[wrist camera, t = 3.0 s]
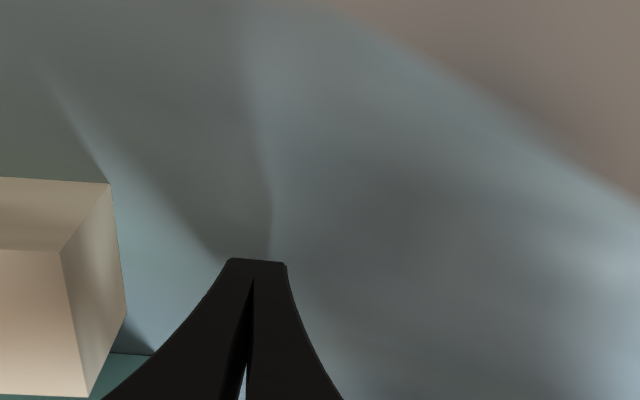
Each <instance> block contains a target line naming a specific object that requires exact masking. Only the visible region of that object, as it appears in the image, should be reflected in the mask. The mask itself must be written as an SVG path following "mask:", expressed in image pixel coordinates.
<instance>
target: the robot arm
mask: <svg viewBox="0 0 640 400" xmlns="http://www.w3.org/2000/svg"><path fill="white" fill-rule="evenodd" d="M246 364H247V371H246V400H343V398H342V397H341V395H340V393H339V392H338V390H337V389H336V387H335V386H334V384H333V382H332V381H331V379H330V377H329V376H328V374H327V372H326V371H325V369H324V367H323V365H322V363H321V362H320V360H319V358H318V356H317V354H316V352H315V350H314V348H313V346H312V344H311V341H310V339H309V337H308V335H307V333H306V330H305V328H304V326H303V323H302V321H301V318H300V315H299V313H298V310H297V308H296V305H295V302H294V299H293V295H292V292H291V288H290V284H289V280H288V274H287V266H286V265H285V264H284V263H283V262H275V261H264V260H254V259H243V258H233V257H232V258H230V259H229V260H227V261H226V263H225V265H224V267H223V269H222V271H221V272H220V274H219V276H218V277H217V279H216V280H215V282H214V283H213V285H212V286H211V287H210V289H209V290H208V292H207V293H206V294H205V296H204V297H203V298H202V300H201V301H200V302H199V304H198V305H197V306H196V307H195V309H194V310H193V311H192V312H191V314H190V315H189V316H188V317H187V318H186V320H185V321H184V322H183V323H182V324H181V325H180V326H179V327H178V329H177V330H176V331H175V332H174V333H173V334H172V335H171V336H170V338H169V339H168V340H167V341H166V342H165V343H164V344H163V345H162V346H161V347H160V348H159V349H158V350H157V351H156V352H155V353H154V354H153V355H152V356H151V357H150V358H149V359H147V360H146V361H145V362H144V363H143V364H142V365H141V366H140V367H139V368H138V369H137V370H135V371H134V372H133V373H132V374H131V375H130V376H128V377H127V378H126V379H125V380H124V381H122V382H121V383H120V384H119V385H118V386H117V387H115V388H114V389H113V390H112V391H110V392H109V393H108V394H107V395H105V396H104V397H103V398H101V399H100V400H238V397H239V393H240V389H241V385H242V381H243V376H244V372H245V368H246Z"/></svg>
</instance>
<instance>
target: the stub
mask: <svg viewBox="0 0 640 400" xmlns="http://www.w3.org/2000/svg"><path fill="white" fill-rule="evenodd" d="M126 314H127V309H126V301H125V293H124V286H123V278H122V270H121V263H120V255H119V247H118V240H117V232H116V224H115V217H114V209H113V202H112V194H111V186H110V184H105V183H90V182H75V181H60V180H45V179H30V178H15V177H0V394H18V395H41V396H64V397H89V395H90V393H91V390H92V388H93V386H94V384H95V382H96V379H97V377H98V375H99V373H100V371H101V369H102V366H103V364H104V362H105V360H106V358H107V356H108V353H109V351H110V349H111V347H112V345H113V343H114V340H115V338H116V336H117V334H118V332H119V329H120V327H121V325H122V323H123V321H124V319H125V316H126Z"/></svg>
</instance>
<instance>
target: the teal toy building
mask: <svg viewBox="0 0 640 400" xmlns="http://www.w3.org/2000/svg"><path fill="white" fill-rule="evenodd" d="M150 357H151V356H141V355H129V354H116V353H108V356H107V358H106V360H105V362H104V364H103V366H102V369H101V371H100V373H99V375H98V377H97V379H96V382H95V384H94V386H93V388H92V390H91V393H90V395H89V397H64V396H41V395H18V394H0V400H100V399H101V398H103V397H104V396H105V395H107V394H108V393H109V392H110V391H112V390H113V389H114V388H115V387H117V386H118V385H119V384H120V383H121V382H122V381H124V380H125V379H126V378H127V377H128V376H130V375H131V374H132V373H133V372H134V371H135V370H137V369H138V368H139V367H140V366H141V365H142V364H143V363H144V362H145V361H146V360H147V359H149V358H150Z"/></svg>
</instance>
